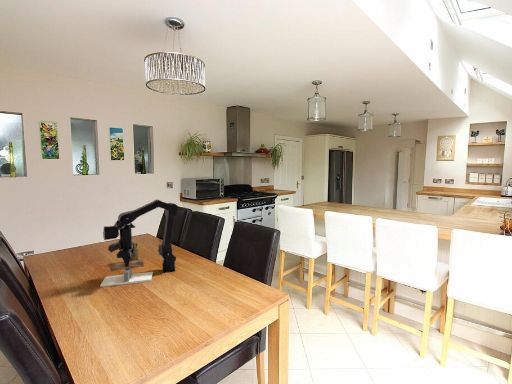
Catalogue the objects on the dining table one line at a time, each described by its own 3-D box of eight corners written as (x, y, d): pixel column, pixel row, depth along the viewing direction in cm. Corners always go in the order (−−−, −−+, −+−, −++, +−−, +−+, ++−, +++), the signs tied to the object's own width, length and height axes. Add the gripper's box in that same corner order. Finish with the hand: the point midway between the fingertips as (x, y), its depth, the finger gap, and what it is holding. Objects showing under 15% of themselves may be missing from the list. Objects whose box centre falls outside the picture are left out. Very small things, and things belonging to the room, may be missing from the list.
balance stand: (152, 273, 156) (152, 263, 156) (151, 281, 146) (150, 270, 145) (106, 278, 150) (105, 267, 149) (100, 286, 139) (99, 275, 139)
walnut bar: (143, 264, 152) (143, 259, 151) (143, 266, 149) (143, 261, 149) (110, 269, 145) (110, 263, 145) (110, 271, 143) (110, 265, 142)
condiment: (138, 259, 180) (137, 241, 179) (142, 263, 173) (141, 244, 172) (126, 262, 175) (125, 243, 174) (129, 265, 169) (128, 246, 168)
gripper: (113, 233, 152) (114, 261, 154) (104, 242, 134) (106, 273, 136) (134, 232, 155) (136, 259, 157) (129, 241, 137) (130, 271, 139)
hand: (127, 265), depth 147 cm, fingers closed on walnut bar, 3 cm apart
